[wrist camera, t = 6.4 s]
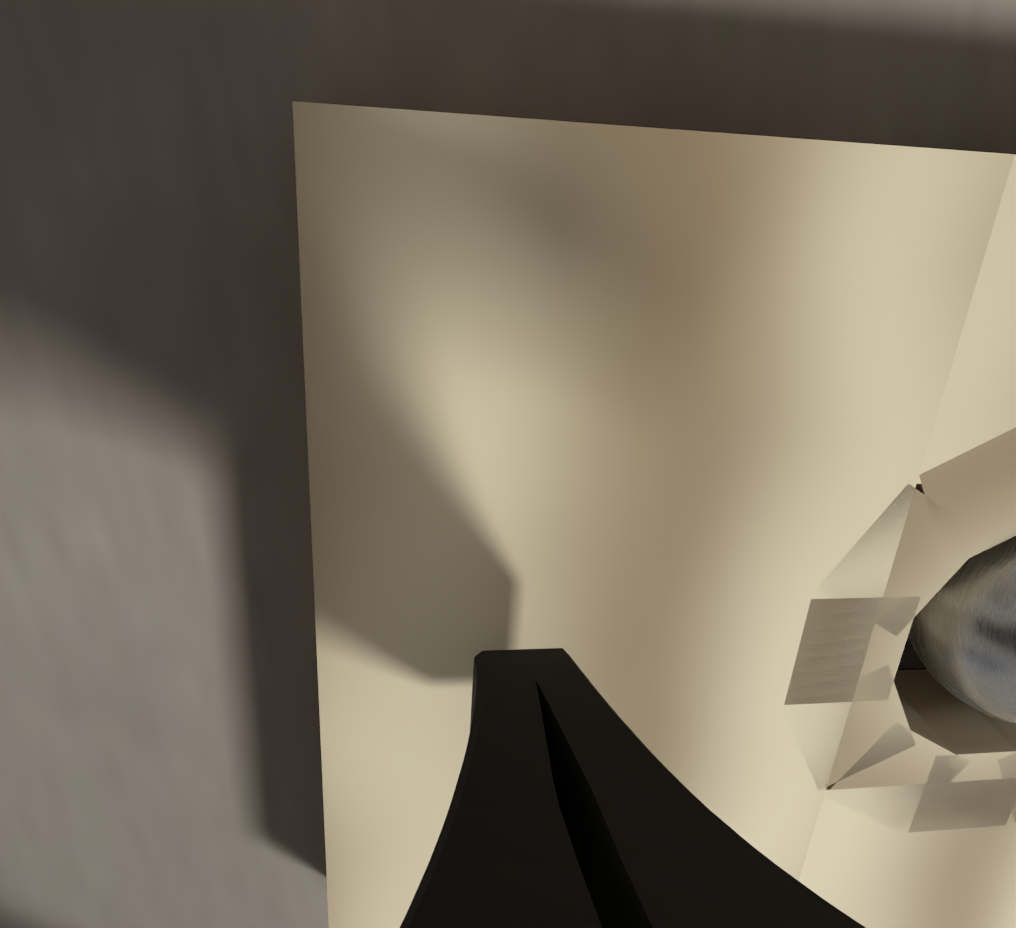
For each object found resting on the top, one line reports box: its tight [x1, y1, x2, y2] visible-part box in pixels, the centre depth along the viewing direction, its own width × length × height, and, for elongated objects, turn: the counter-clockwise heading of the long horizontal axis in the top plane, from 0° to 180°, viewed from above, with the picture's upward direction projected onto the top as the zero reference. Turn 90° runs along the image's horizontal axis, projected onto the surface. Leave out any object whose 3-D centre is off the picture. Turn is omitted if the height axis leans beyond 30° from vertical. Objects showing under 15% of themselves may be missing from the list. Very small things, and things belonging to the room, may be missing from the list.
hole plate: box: [292, 101, 1016, 928], centre depth 14 cm, size 18×16×2 cm
